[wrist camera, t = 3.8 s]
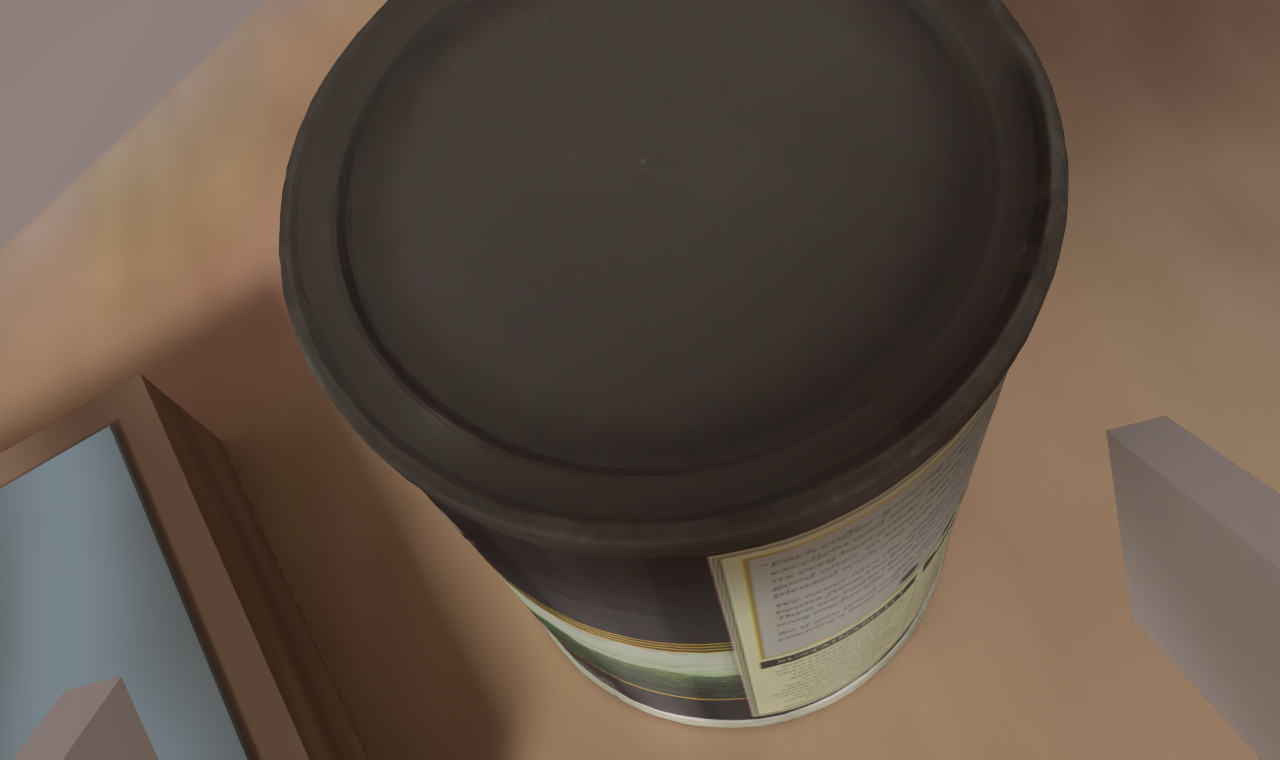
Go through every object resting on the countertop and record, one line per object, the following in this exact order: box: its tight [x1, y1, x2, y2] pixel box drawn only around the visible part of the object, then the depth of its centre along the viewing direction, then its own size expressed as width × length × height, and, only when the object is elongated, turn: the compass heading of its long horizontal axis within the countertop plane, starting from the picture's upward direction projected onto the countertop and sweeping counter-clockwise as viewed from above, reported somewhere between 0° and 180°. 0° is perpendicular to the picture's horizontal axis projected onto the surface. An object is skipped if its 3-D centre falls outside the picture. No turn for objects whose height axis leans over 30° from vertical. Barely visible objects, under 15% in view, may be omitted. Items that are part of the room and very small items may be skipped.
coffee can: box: [279, 0, 1068, 728], centre depth 21 cm, size 10×10×14 cm
